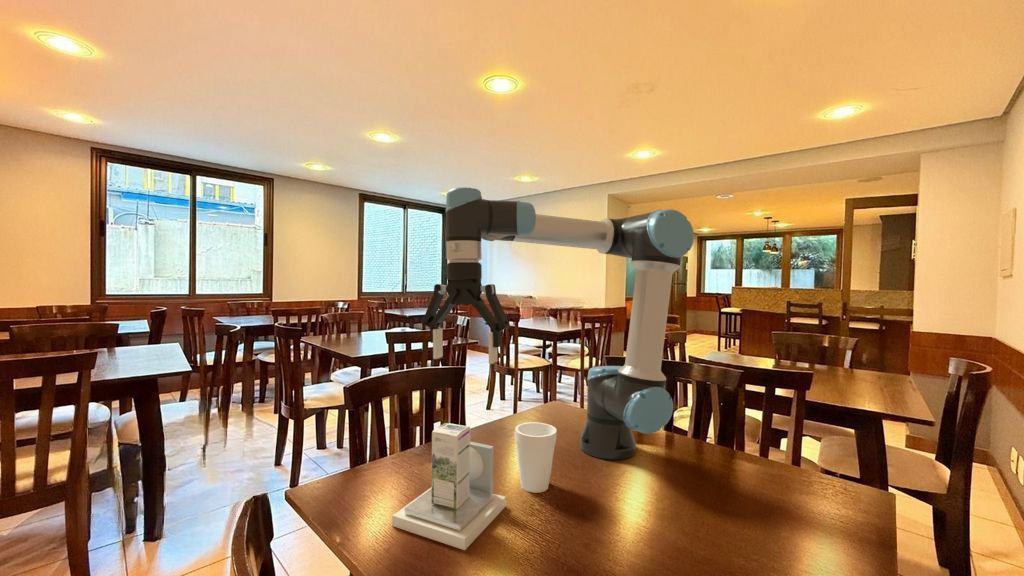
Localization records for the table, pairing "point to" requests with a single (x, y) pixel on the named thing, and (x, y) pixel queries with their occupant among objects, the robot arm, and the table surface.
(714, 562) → the table surface
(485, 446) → the scale base
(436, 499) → the syrup box
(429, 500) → the scale pan
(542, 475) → the foam cup
